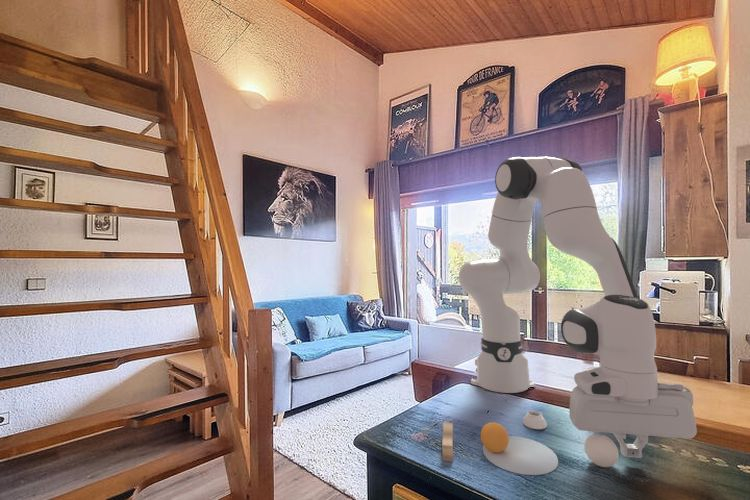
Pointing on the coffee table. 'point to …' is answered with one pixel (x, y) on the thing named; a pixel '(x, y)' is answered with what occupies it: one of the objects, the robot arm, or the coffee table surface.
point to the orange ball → (494, 437)
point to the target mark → (524, 457)
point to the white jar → (534, 420)
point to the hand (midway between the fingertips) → (631, 455)
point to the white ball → (601, 450)
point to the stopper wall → (447, 442)
